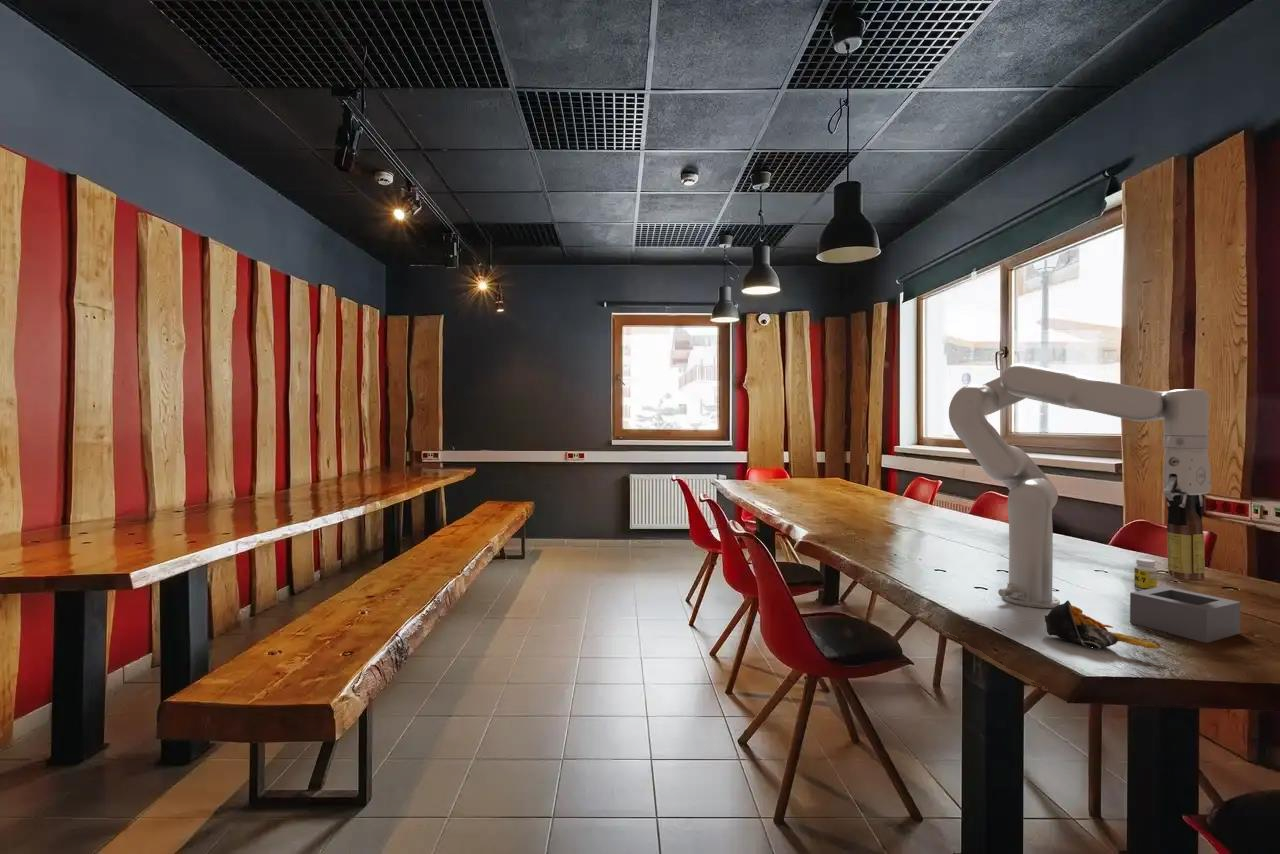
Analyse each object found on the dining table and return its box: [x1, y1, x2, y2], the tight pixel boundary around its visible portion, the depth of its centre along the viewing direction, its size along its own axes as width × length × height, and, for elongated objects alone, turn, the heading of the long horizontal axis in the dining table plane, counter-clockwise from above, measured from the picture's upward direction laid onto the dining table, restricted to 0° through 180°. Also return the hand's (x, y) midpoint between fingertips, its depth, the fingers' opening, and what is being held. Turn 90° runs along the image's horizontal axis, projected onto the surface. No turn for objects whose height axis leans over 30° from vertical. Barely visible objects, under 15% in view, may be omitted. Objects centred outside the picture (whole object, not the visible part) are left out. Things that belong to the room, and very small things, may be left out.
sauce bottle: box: [1166, 491, 1206, 582], centre depth 135 cm, size 6×6×20 cm
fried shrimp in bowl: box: [1043, 600, 1162, 650], centre depth 124 cm, size 9×11×18 cm
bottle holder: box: [1129, 585, 1241, 644], centre depth 135 cm, size 14×14×7 cm
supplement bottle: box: [1133, 557, 1158, 591], centre depth 166 cm, size 5×5×8 cm
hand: (1185, 522), depth 135 cm, fingers closed on sauce bottle, 5 cm apart
